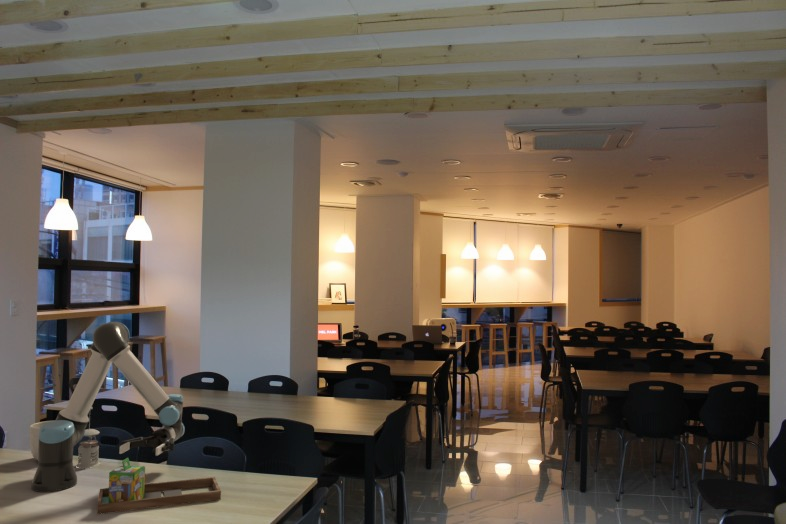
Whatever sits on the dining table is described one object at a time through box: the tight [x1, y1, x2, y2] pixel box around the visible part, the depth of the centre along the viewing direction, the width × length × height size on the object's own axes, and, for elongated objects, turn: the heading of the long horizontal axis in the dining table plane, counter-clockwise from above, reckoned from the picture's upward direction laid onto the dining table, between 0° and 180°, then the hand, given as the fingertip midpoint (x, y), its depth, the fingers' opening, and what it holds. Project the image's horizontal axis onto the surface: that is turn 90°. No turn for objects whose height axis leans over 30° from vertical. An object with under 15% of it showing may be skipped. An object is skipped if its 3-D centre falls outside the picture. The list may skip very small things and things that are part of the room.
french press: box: [75, 405, 101, 469], centre depth 257 cm, size 10×12×25 cm
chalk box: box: [108, 457, 146, 503], centre depth 211 cm, size 9×9×15 cm
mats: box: [144, 489, 183, 499], centre depth 216 cm, size 14×13×1 cm
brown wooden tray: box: [96, 476, 222, 515], centre depth 216 cm, size 18×40×3 cm, turn 113°
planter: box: [29, 420, 53, 461], centre depth 265 cm, size 17×17×15 cm
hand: (138, 450), depth 222 cm, fingers open, 13 cm apart
